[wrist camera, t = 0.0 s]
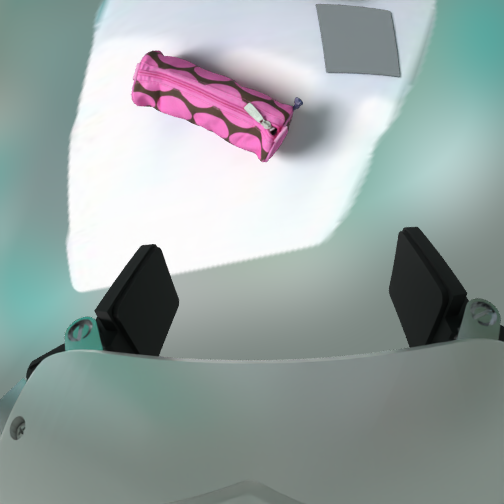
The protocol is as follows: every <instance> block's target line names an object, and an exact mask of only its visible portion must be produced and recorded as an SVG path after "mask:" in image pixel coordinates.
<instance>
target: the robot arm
mask: <svg viewBox="0 0 504 504" xmlns="http://www.w3.org/2000/svg"><path fill="white" fill-rule="evenodd" d="M389 294H390V297H391V299H392V302H393V304H394V307H395V309H396V312H397V314H398V317H399V319H400V322H401V325H402V327H403V330H404V332H405V335H406V338H407V341H408V344H409V347H410V348H404V349H398V350H390V351H384V352H376V353H368V354H359V355H350V356H339V357H326V358H313V359H293V360H254V361H253V360H248V361H247V360H206V359H186V358H172V357H159V354H160V351H161V349H162V346H163V343H164V341H165V338H166V336H167V334H168V331H169V329H170V326H171V324H172V321H173V318H174V316H175V314H176V311H177V309H178V306H179V298H178V296H177V293H176V290H175V287H174V285H173V282H172V279H171V276H170V273H169V271H168V268H167V265H166V262H165V259H164V256H163V253H162V250H161V249H160V248H159V247H157V246H156V245H155V244H151V245H142V246H141V247H140V248H139V249H138V250H137V252H136V253H135V254H134V256H133V257H132V258H131V260H130V261H129V262H128V264H127V265H126V266H125V268H124V269H123V271H122V272H121V273H120V275H119V276H118V277H117V279H116V280H115V282H114V283H113V284H112V286H111V287H110V289H109V290H108V292H107V293H106V295H105V296H104V297H103V299H102V300H101V302H100V303H99V305H98V306H97V308H96V309H95V313H96V315H97V316H98V317H97V318H96V320H95V319H94V318H92V317H82V318H79V319H77V320H75V321H74V322H73V323H72V324H71V325H70V326H69V327H68V328H67V330H66V332H65V336H64V339H65V343H64V344H62V345H60V346H59V347H57V348H55V349H53V350H52V351H50V352H48V353H46V354H44V355H42V356H41V357H39V358H37V359H36V360H34V361H32V362H31V364H30V366H29V368H28V370H27V375H26V378H27V380H26V379H25V378H22V379H21V380H20V381H19V382H18V383H17V384H16V385H15V386H14V387H13V388H12V389H11V390H10V391H8V392H7V393H6V394H5V395H4V396H3V397H2V398H1V399H0V432H1V438H0V504H504V327H503V326H502V325H500V323H501V317H500V314H499V311H498V309H497V308H496V307H495V306H494V305H493V304H492V303H491V302H489V301H487V300H484V299H480V298H475V299H472V300H470V301H468V299H467V297H466V295H467V292H466V290H465V289H464V287H463V286H462V285H461V283H460V282H459V280H458V279H457V277H456V276H455V275H454V273H453V272H452V270H451V269H450V268H449V266H448V265H447V263H446V262H445V261H444V259H443V258H442V256H441V255H440V254H439V253H438V251H437V250H436V249H435V247H434V246H433V245H432V244H431V242H430V241H429V240H428V239H427V237H426V236H425V235H424V234H423V232H422V231H421V230H420V229H419V228H418V227H406V228H403V231H400V232H399V235H398V241H397V248H396V254H395V260H394V266H393V271H392V276H391V281H390V286H389Z"/></svg>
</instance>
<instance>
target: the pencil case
mask: <svg viewBox="0 0 504 504" xmlns="http://www.w3.org/2000/svg"><path fill="white" fill-rule="evenodd" d="M133 80H134V84H133V87H132V94H131V95H132V101H133V103H134V104H136V105H137V106H150V107H153V108H155V109H156V110H158V111H160V112H163V113H166V114H169V115H172V116H174V117H178V118H182V119H186V120H187V121H189V122H191V123H193V124H195V125H198V126H202V127H204V128H206V129H207V130H209V131H212V132H214V133H216V134H217V135H218V136H220V137H221V138H223V139H224V140H226V141H227V142H229V143H231V144H233V145H235V146H237V147H239V148H242V149H244V150H247V151H250V152H253V153H255V154H256V155H257V156H258V158H259V159H260V161H262V162H267V161H268V160H269V159H270V158H271V157H272V156H273V154H274V153H275V152H276V151H277V149H278V148H279V147H280V145H281V144H282V142H283V140H284V138H285V137H286V135H287V133H288V129H289V125H290V122H291V119H292V115H293V112H294V110H295V109H298V108H299V107H300V106H301V105H302V104H303V102H302V100H301V99H299V98H298V97H296V98H295V101H294V103H295V105H294V106H290V105H286V104H282V103H279V102H278V101H276V100H274V99H273V98H271V97H269V96H267V95H265V94H263V93H260V92H258V91H255V90H253V89H249V88H246V87H241V86H240V85H239V84H238V83H236V82H235V81H234V80H232V79H230V78H228V77H225V76H222V75H219V74H215V73H212V72H210V71H207V70H205V69H202V68H201V67H199V66H197V65H195V64H193V63H191V62H189V61H186V60H183V59H180V58H177V57H171V56H164V55H163V54H162V52H161V51H151V52H148V53H147V54H145V56H144V57H143V58H142V60H141V62H140V63H138V64H137V66H136V70H135V74H134V77H133Z"/></svg>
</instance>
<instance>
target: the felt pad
mask: <svg viewBox="0 0 504 504" xmlns="http://www.w3.org/2000/svg"><path fill="white" fill-rule="evenodd" d="M316 9H317V14H318V20H319V26H320V32H321V38H322V45H323V51H324V59H325V67H326V72H341V73H364V74H378V75H388V76H397V77H400V74H399V64H398V56H397V48H396V41H395V35H394V29H393V23H392V18H391V13H390V11H388V10H381V9H375V8H367V7H358V6H347V5H331V4H316Z"/></svg>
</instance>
